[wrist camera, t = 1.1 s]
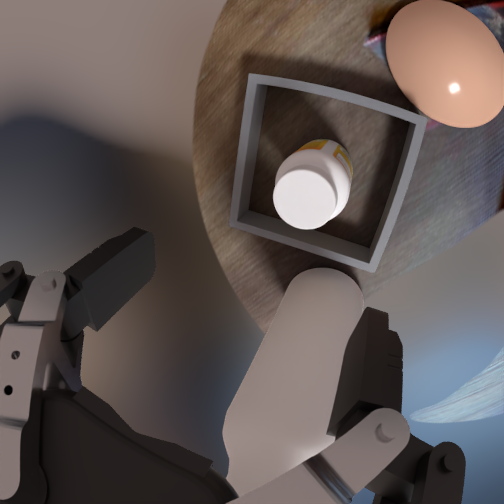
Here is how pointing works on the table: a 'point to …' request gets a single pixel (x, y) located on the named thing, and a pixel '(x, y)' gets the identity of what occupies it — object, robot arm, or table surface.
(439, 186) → the table surface
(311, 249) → the bin
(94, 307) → the robot arm
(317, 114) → the table surface
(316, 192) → the supplement bottle
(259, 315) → the table surface
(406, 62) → the plate
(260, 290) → the table surface
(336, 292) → the alcohol
